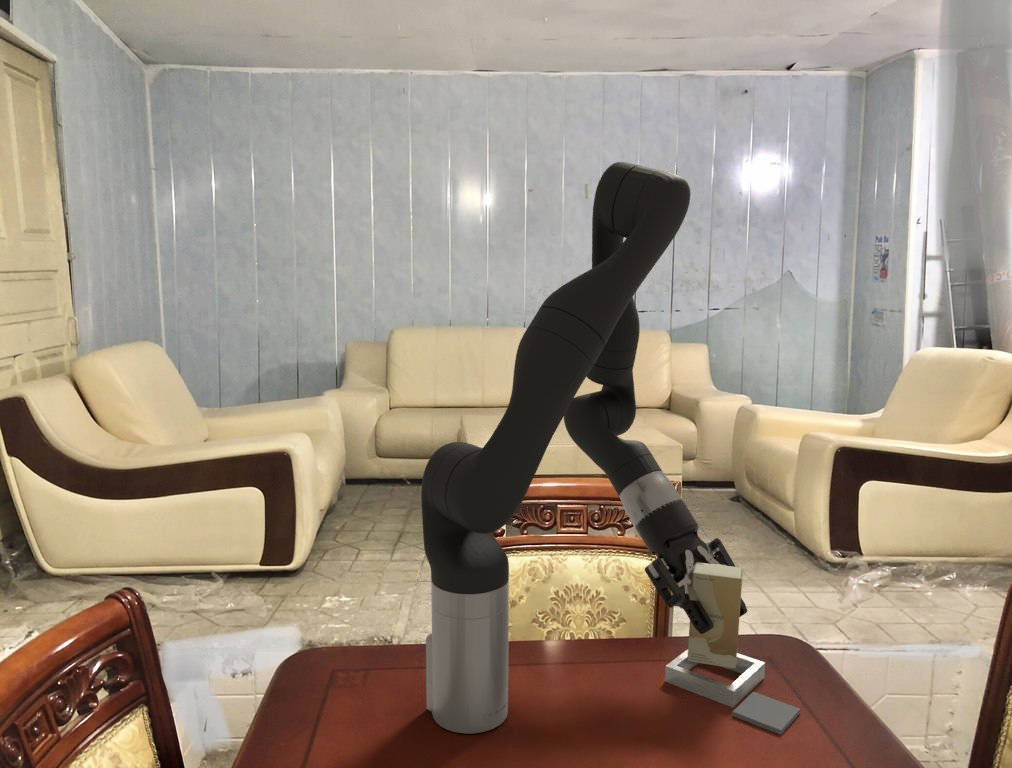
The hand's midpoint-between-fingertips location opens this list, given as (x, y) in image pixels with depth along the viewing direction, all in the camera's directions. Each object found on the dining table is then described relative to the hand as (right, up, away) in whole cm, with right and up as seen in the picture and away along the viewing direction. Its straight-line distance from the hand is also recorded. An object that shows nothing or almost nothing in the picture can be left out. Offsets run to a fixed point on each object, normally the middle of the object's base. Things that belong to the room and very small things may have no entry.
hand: (725, 622), depth 103 cm
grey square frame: (-1, -8, +3) cm, 9 cm away
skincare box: (-1, -5, +2) cm, 6 cm away
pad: (+4, -10, -5) cm, 12 cm away
